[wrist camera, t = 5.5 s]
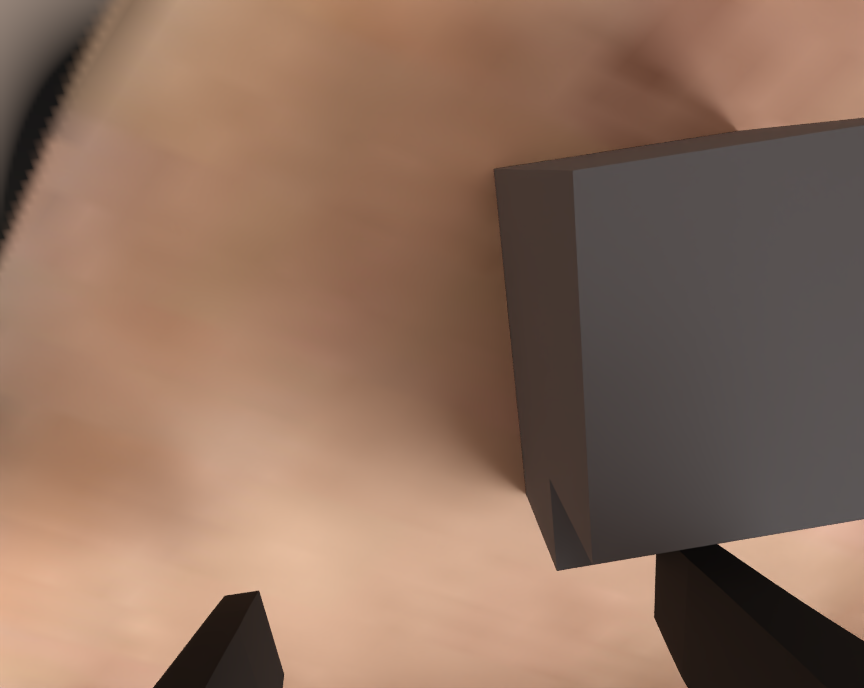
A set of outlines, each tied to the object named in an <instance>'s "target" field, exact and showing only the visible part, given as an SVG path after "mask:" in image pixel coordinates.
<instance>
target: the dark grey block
mask: <svg viewBox="0 0 864 688" xmlns="http://www.w3.org/2000/svg"><path fill="white" fill-rule="evenodd" d="M494 176H495V186H496V197H497V207H498V217H499V227H500V237H501V247H502V257H503V267H504V277H505V287H506V297H507V307H508V317H509V327H510V337H511V347H512V357H513V367H514V377H515V388H516V398H517V408H518V418H519V428H520V438H521V448H522V458H523V468H524V478H525V488H526V495H527V498H528V500H529V503H530V505H531V508H532V510H533V513H534V515H535V518H536V520H537V523H538V525H539V528H540V530H541V533H542V535H543V538H544V540H545V543H546V545H547V548H548V550H549V553H550V555H551V558H552V560H553V563H554V565H555V568H556V570H557V571H559V570H565V569H571V568H577V567H583V566H589V565H595V564H601V563H607V562H613V561H619V560H624V559H630V558H636V557H642V556H648V555H654V554H660V553H666V552H672V551H678V550H684V549H690V548H696V547H702V546H708V545H713V544H719V543H725V542H731V541H737V540H743V539H749V538H755V537H761V536H767V535H773V534H779V533H785V532H791V531H796V530H802V529H808V528H814V527H820V526H826V525H832V524H838V523H844V522H850V521H856V520H862V519H864V118H858V119H848V120H839V121H829V122H820V123H810V124H800V125H791V126H781V127H772V128H762V129H752V130H743V131H735V132H728V133H722V134H715V135H709V136H703V137H696V138H690V139H683V140H677V141H670V142H664V143H657V144H651V145H645V146H638V147H632V148H625V149H619V150H612V151H606V152H599V153H593V154H587V155H580V156H574V157H567V158H561V159H554V160H548V161H541V162H535V163H529V164H522V165H516V166H509V167H503V168H496V169H494Z"/></svg>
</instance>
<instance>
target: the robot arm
mask: <svg viewBox="0 0 864 688" xmlns="http://www.w3.org/2000/svg"><path fill="white" fill-rule="evenodd" d="M654 618H655V620H656V622H657V624H658V627H659V629H660V631H661V633H662V636H663V638H664V640H665V642H666V645H667V647H668V649H669V651H670V653H671V655H672V658H673V660H674V662H675V664H676V666H677V668H678V670H679V672H680V674H681V677H682V678H683V680H684V682H685V684H686V685H687V687H688V688H864V641H863V640H861V639H860V638H858V637H856V636H855V635H853V634H852V633H850V632H848V631H847V630H845V629H844V628H842V627H841V626H839V625H837V624H836V623H834V622H833V621H831V620H829V619H828V618H826V617H825V616H823V615H822V614H820V613H819V612H817V611H815V610H814V609H812V608H811V607H809V606H808V605H806V604H805V603H803V602H802V601H800V600H799V599H797V598H796V597H794V596H793V595H791V594H790V593H788V592H787V591H785V590H784V589H782V588H781V587H779V586H778V585H776V584H775V583H773V582H772V581H770V580H769V579H767V578H766V577H764V576H763V575H761V574H760V573H759V572H757V571H756V570H754V569H753V568H751V567H750V566H748V565H747V564H745V563H744V562H742V561H741V560H740V559H738V558H737V557H735V556H734V555H732V554H731V553H729V552H728V551H726V550H725V549H724V548H722V547H721V546H719V545H718V544H713V545H708V546H702V547H696V548H690V549H684V550H678V551H672V552H666V553H660V554H656V576H655V609H654ZM283 680H284V672H283V669H282V666H281V662H280V659H279V656H278V652H277V649H276V646H275V642H274V639H273V636H272V632H271V629H270V626H269V622H268V619H267V616H266V612H265V609H264V606H263V602H262V599H261V596H260V592H259V591H254V592H247V593H240V594H234V595H227V596H224V597H223V599H222V600H221V601H220V602H219V604H218V605H217V606H216V607H215V609H214V610H213V611H212V612H211V614H210V615H209V616H208V618H207V619H206V620H205V621H204V623H203V624H202V625H201V627H200V628H199V629H198V630H197V632H196V633H195V634H194V636H193V637H192V638H191V640H190V641H189V642H188V644H187V645H186V646H185V647H184V649H183V650H182V651H181V653H180V654H179V655H178V656H177V658H176V659H175V660H174V662H173V663H172V664H171V666H170V667H169V668H168V669H167V671H166V672H165V673H164V675H163V676H162V677H161V678H160V680H159V681H158V682H157V683H156V685H155V686H154V687H153V688H283Z"/></svg>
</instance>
